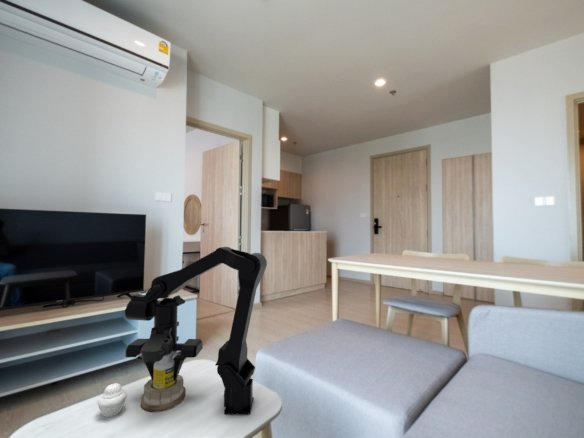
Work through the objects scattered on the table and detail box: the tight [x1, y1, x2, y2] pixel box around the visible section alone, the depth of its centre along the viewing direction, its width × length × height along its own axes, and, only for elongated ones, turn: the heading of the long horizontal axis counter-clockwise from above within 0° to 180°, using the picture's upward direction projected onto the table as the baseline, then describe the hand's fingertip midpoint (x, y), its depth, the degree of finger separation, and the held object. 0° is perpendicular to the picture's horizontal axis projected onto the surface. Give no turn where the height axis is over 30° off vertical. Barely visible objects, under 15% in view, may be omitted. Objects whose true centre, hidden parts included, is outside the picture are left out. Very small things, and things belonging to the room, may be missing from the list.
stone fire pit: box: [140, 374, 187, 413], centre depth 74 cm, size 11×11×4 cm
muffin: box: [96, 382, 128, 418], centre depth 68 cm, size 6×6×7 cm
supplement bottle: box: [153, 351, 175, 390], centre depth 74 cm, size 5×5×10 cm
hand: (164, 380), depth 74 cm, fingers closed on supplement bottle, 5 cm apart
